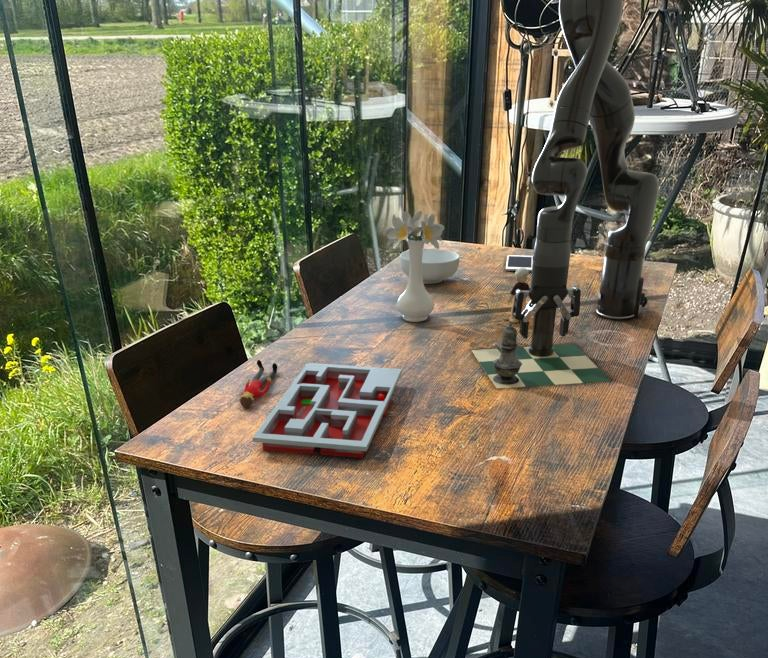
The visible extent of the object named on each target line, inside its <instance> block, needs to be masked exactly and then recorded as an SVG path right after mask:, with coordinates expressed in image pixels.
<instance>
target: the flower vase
mask: <svg viewBox="0 0 768 658" xmlns="http://www.w3.org/2000/svg"><path fill="white" fill-rule="evenodd" d="M422 215H423V220H422V219H421V218H422ZM435 221H436V217H435V214H434V213H433V212H431V213H429V214H428V215H427V213H426V212H425V213H423V211H422V210H419V211H417V212H416V213H414V215H413V216H411V214H410V213H409V212H408V211H402V213H401V218H400V217H399V216H397V217H396V214H393V215H392V221H391V223H392V227H391V226H390V227H388V228H387V229H386V231H385V235H386V236H387V239H388V240H387V243H386V248H388V247H389V246H391V244H392V243H393V244H392V249H393V250H395V249H397V247H398V246H399V245H400V244H401V243H402V241H406V243H407V246H408V250H409V253H410V269H409V276H408V281H407V285H406V287H405V289H404V291H403V292H402V293H401V294H400V295H399V297H398V299H397V300H396V304H395V306H396V309H397V311H398V312H399V314H401V315H402V319H403V320H404V321H406V322H410V323H411V322H412V323H419V322H424V321H426V320H427V319H428V316H429V315H430V314H431V313H432V312H433V311H434V309H435V301H434V299H433V297H432V296H431V294H430V293H428V291H427V290H426V287H425V284H424V283H423V277H422V254H423V249H425V248H424V247H425V245H429V244H431V245H432V246H433V247H434V249H440V244H439V242H438V241H440V242H442V241H443V239H442V237H441V236H442V235H443V231H444V230H445V226H444V225H443V224H441V223H435ZM412 233H413V234H412ZM418 234H419V235H418Z"/></svg>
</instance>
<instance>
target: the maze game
mask: <svg viewBox="0 0 768 658" xmlns="http://www.w3.org/2000/svg"><path fill="white" fill-rule="evenodd" d="M402 373H403V369H402V368H395V367H394V368H393V367H377V366H364V365H363V366H361V365H349V364H348V365H346V364H333V363H319V362H317V363H316V362H307V363H306V364H305V366H304V367H303V368H302V370H301V371H300V373H298V374H297V377H296V378H295V379H294V380H293V382H292V384H291V385H290V386H289V388H288V389H287V390H286V391H285V393H284V394H283V396H282V397H281V398H280V399H279V401H278V403H276V405H275V407H274V408H273V409H272V410H271V411H270V413H269V415H268V416H267V417H266V418H265V419H264V421H263V422H262V424H261V425H260V427H259V428H258V430H257V431H256V432H255V433H254V435H253V436H252V443H262V450H263V451H268V452H269V451H270V452H281V453H282V452H283V453H296V454H307V455H308V454H309V455H315V453H316V451H317V450H318V448H320V455H321V456H332V457H344V458H345V457H346V458H359V459H360V458H361V459H362V458H363V457H364V454H365V452H367V451H368V449H369V447H370V445H371V443H372V440H373V438H374V436H375V434H376V431H377V429H378V427H379V425H380V423H381V420H382V418H385V417H386V414H387V413H388V411H389V408H390V405H391V403H392V395H393V394H394V391H395V389H396V387H397V384H398V382H399V381H400V378H401V377H402Z"/></svg>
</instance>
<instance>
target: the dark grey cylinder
mask: <svg viewBox="0 0 768 658" xmlns="http://www.w3.org/2000/svg"><path fill="white" fill-rule="evenodd" d="M556 315H557V308H556V309H555V308H544V309H539V310H538V311H537V312H536V313H535V314H534V315H533V320H532V330H531V339H530V340H531V341H530V345H529V346H528V347H529V354H531V355H533V356H538V357H547V356H551V355H553V351H554V347H553V346H552V345H553V342H554V333H555V326H556V325H555V324H556Z"/></svg>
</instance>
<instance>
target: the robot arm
mask: <svg viewBox="0 0 768 658" xmlns="http://www.w3.org/2000/svg"><path fill="white" fill-rule="evenodd" d="M623 8H624V0H559V3H558V16H559V22H560V27H561V30H562V33H563V37H564V40H565V42H566V45H567V48H568V51H569V54H570V56H571V58H572V62H573V65H574V67H575V69H574V71H573V72H572V73H571V74H570V75H569V77H568V79H567V80H566V81H565V83H564V85H563V86H562V88H561V90H560V91H559V94H558V96H557V99H556V103H555V106H554V111H553V117H552V121H551V126H550V130H549V133H548V137H547V139H546V142H545V144H544V147H543V149H542V151H541V153H540V154H539V157H538V158H537V161H536V162H535V164H534V168H533V170H532V173H531V186H532V188H533V190H534V191H535V193H537V194H539V195H544V196H555V197H564V200H563V202H562V204H558V205H553V206H547V207H544V208H542V209H541V210H540V211H539V212H538V215H537V225H536V233H535V234H536V235H535V243H534V247H533V254H532V256H533V258H532V260H533V264H532V271H531V277H530V286H529V287H530V289H529V290H528V291H523V290H520V289H516V291H515V297H513V301H514V304H513V303H512V305H513V311H512V315H513V316H514V317H515V319H517V320H519V329H518V330H519V335H520V336H521V337H522V338H523V339H528V337H529V327H530V326H529V325H530V322H529V320H531V318H532V317H533V316H534V314H535V313H536V312H537V311H538V310H539V309H544V308H555V309H556V310H558V311H559V313H560V314H561V317H560V320H559V321H560V322H559V329H558V333H559V336H561V337H566V336H567V335H566V334H568V333H569V328H570V321H571V319H572V318H574V317H575V318H576V317H579V316H580V312H581V311H580V310H581V297H582V291H581V289H580V288H579V287H577V286H576V285H573V286H572V287H569V288H568V287H567V285H568V279H569V270H570V262H571V261H570V260H571V250H572V247H571V246H572V245H571V242H572V241H571V240H572V232H573V223H574V217H575V212H576V209H577V206H578V203H579V200H580V198H581V195H582V193H583V191H584V187H585V186H586V183H587V180H588V173H589V172H588V167H587V164H586V162H585V161H584V160H583V159H581V158H579V157H566V156H565V157H563V156H560V155H561V154H562V153H564V152H566V151H569V150H575V149H578V148H580V147H582V146H583V145H584V143H585V141H586V139H587V134H588V129H589V125H590V128H591V131H592V134H593V138H594V143H595V147H596V152H597V156H598V161H599V166H600V173H601V181H602V187H603V194H604V199H605V202H606V205H607V206H608V207H609V209H610V210H613V211H614V212H617V213H621V214H627V219H626V222H625V224H624V225H621V226H617V227H614V228H611V229H610V230H608V231H607V235H606V240H605V241H606V242H605V251H604V256H603V262H602V263H603V265H602V272H601V278H600V286H599V290H597V297H598V300H597V305H596V306H597V307H596V311H595V312H596V315H597V316H599V317H601V318H603V319H608V320H613V321H614V320H616V321H619V320H620V321H622V320H623V321H624V320H631V319H633V318H638V317H639V313H640V312H639V311H640V307H641V308H645V307H646V305H647V304H648V297H646V296H645V295H646V293H645V292H643V287H644V281H645V279H644V277H643V276H642V272H643V267H644V261H645V254H646V247H647V242H648V238H649V236H650V233H651V231H652V228H653V222H654V218H655V212H656V209H657V204H658V199H659V193H660V183H659V180H658V179H659V178H658V177H657V176H656V175H655V174H654V173H650V172H646V171H638V170H633V169H630V168H629V166H628V163H627V160H626V153H625V148H626V144H627V142H628V139H629V138H630V135H631V133H632V131H633V128H634V124H635V120H636V114H635V106H634V101H633V97H632V93H631V88H630V86H629V84H628V82H627V80H626V79H625V78H624V77H623V75H622V74H621V73H620V72H619V71H618V69H616V68H615V67H614V66H613V65H612V64H611V63H610V62H609V61H608V60H609V59H608V58H609V56H610V54H611V50H612V47H613V44H614V42H615V39H616V35H617V32H618V30H619V26H620V23H621V19H622V15H623V10H624V9H623ZM567 296H568V297H569V299H570V309H569V310H568V308H567V307H566V306H565V303H563V301H564V300H565V299H566V297H567ZM527 298H529V299H530V300H529V302H528V303H526V308H525V310H524V311H523V312H522V305H523V301H525V300H526V301H527ZM521 312H522V313H521Z"/></svg>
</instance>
